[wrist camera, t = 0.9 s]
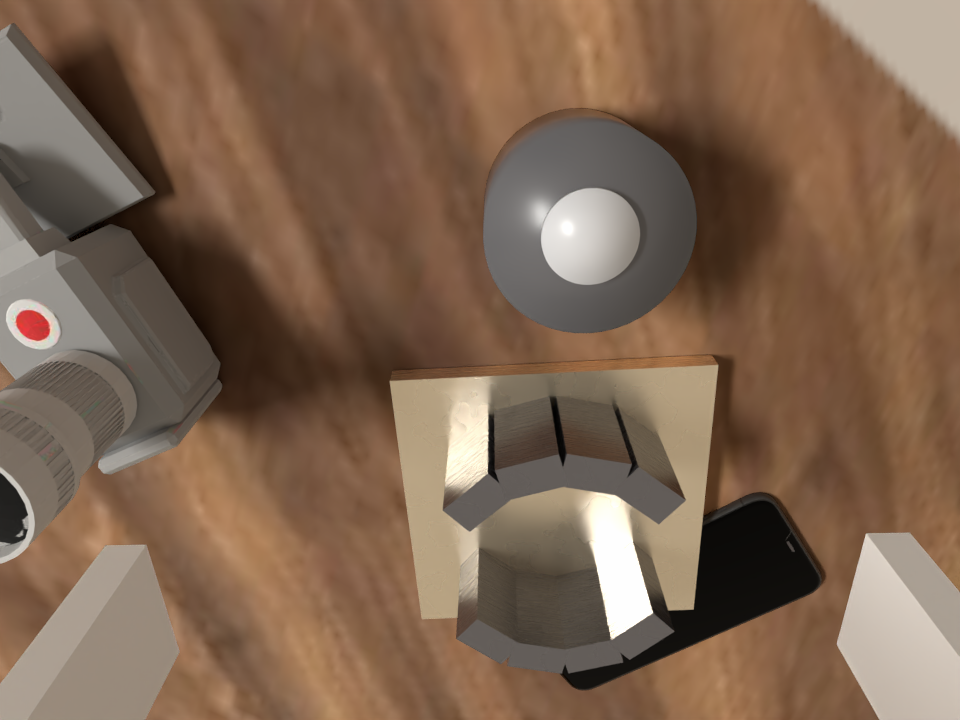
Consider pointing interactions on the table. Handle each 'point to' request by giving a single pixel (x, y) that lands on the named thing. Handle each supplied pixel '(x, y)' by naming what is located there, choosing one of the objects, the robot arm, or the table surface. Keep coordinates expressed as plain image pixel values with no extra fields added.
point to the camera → (78, 307)
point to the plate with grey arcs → (557, 502)
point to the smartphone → (729, 581)
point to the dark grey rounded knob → (586, 221)
